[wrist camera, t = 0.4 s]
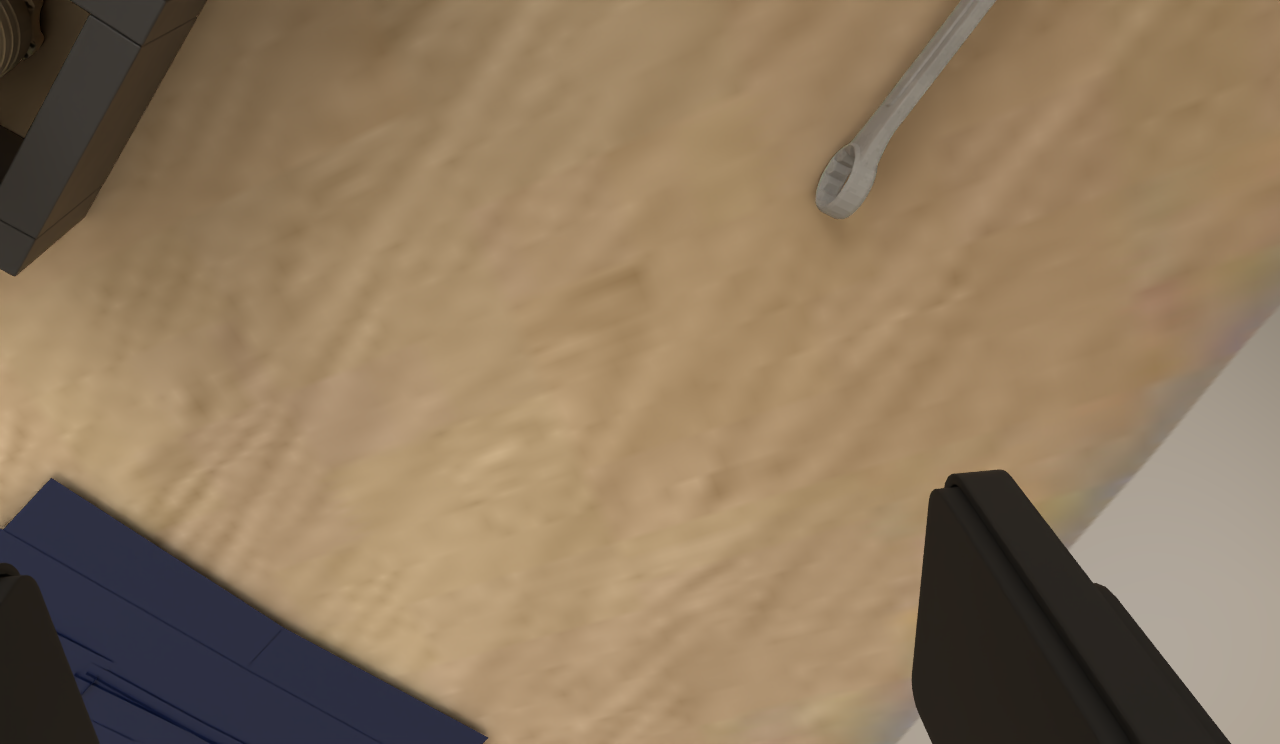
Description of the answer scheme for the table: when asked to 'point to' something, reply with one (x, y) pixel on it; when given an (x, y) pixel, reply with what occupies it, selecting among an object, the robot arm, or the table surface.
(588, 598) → the table surface
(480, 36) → the table surface
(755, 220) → the table surface
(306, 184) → the table surface
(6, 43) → the handle
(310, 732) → the navy flat block
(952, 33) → the combination wrench
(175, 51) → the holder
